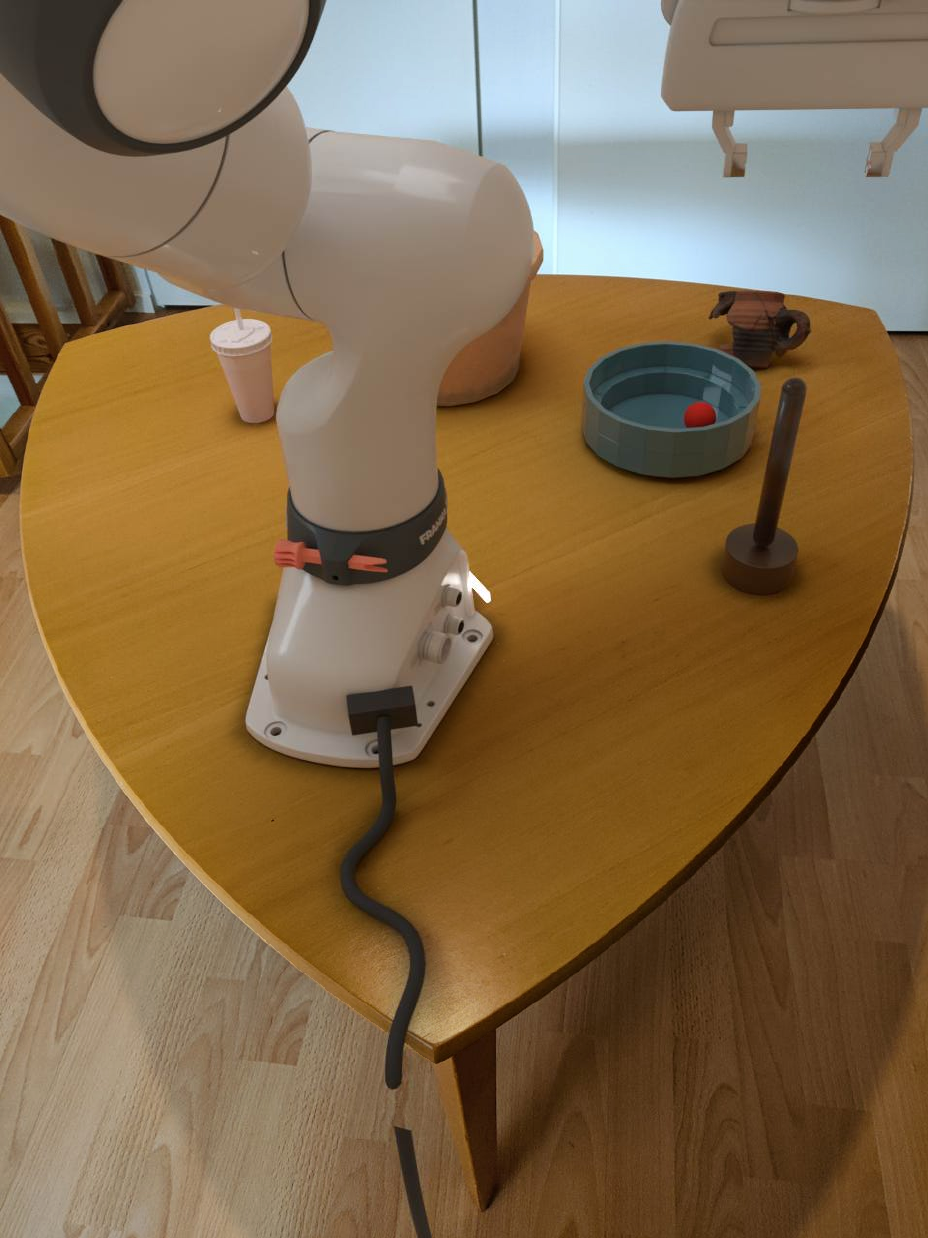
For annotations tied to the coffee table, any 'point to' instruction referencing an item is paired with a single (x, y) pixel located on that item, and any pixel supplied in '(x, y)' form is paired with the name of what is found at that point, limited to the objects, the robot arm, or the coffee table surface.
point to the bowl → (669, 408)
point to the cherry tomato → (699, 415)
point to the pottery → (490, 353)
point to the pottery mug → (760, 325)
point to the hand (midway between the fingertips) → (803, 174)
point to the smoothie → (247, 365)
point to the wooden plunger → (769, 511)
